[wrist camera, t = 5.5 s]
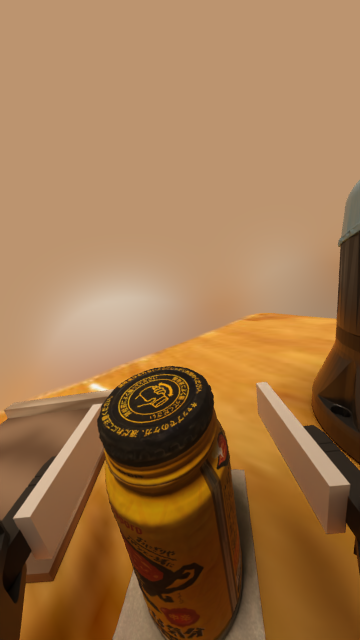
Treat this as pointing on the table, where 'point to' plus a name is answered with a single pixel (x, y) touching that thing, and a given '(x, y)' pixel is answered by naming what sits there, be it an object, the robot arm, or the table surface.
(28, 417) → the dock board
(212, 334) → the table surface
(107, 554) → the table surface
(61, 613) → the table surface
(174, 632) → the condiment
